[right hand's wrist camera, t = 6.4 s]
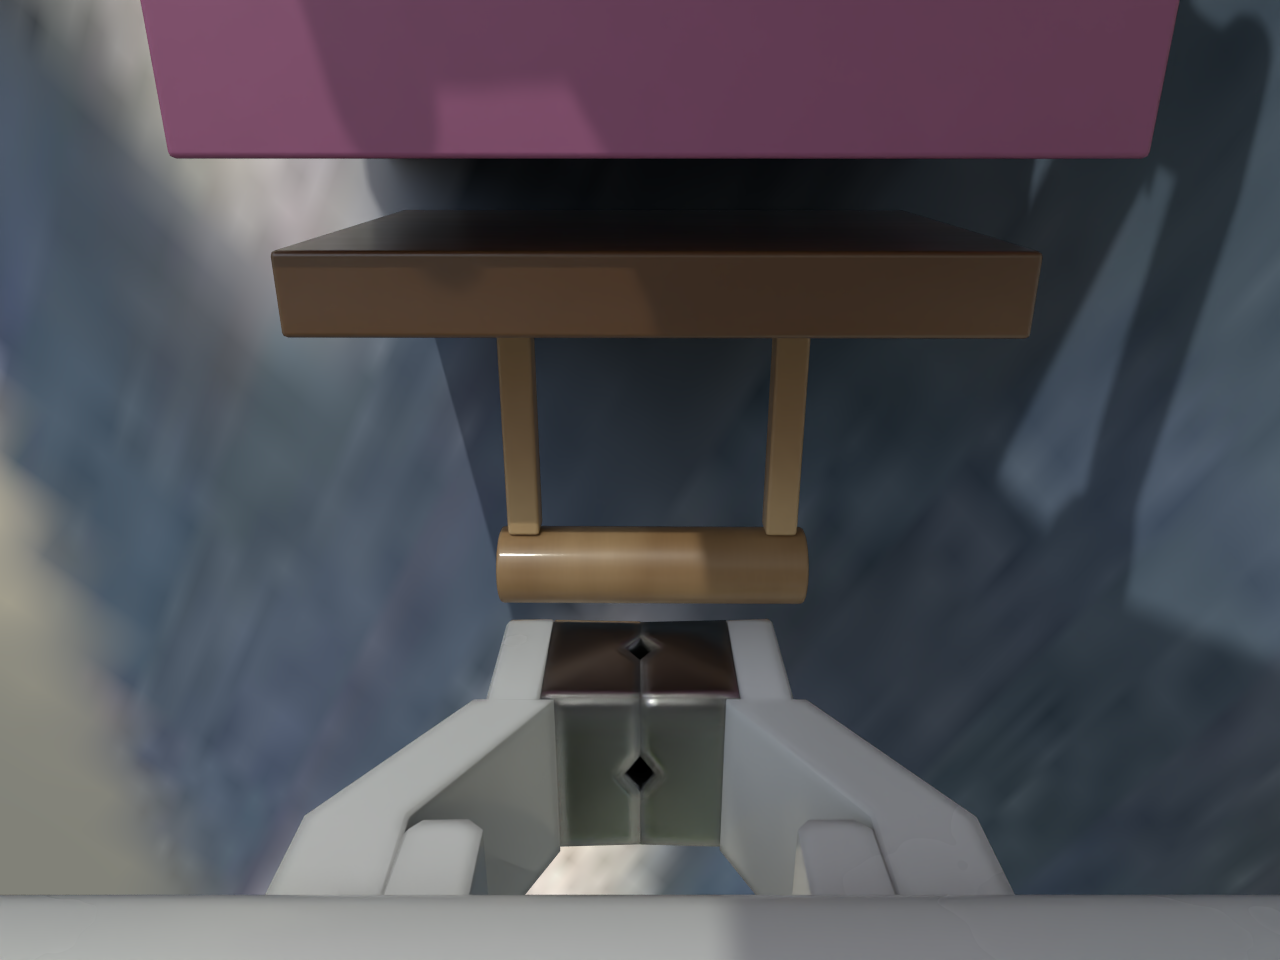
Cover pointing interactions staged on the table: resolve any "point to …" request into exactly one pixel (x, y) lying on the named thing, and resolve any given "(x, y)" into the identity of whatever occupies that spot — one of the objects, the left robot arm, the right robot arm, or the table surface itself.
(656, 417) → the table surface
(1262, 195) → the table surface
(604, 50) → the cabinet
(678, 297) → the drawer
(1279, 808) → the table surface
